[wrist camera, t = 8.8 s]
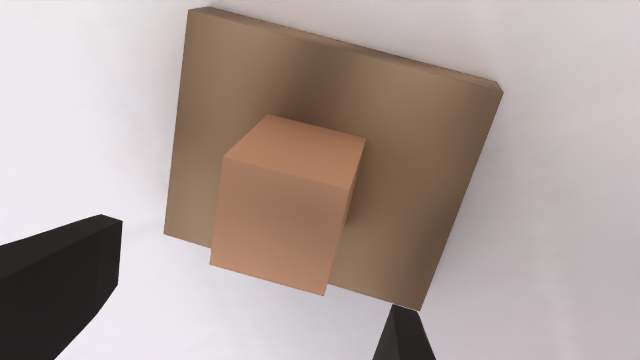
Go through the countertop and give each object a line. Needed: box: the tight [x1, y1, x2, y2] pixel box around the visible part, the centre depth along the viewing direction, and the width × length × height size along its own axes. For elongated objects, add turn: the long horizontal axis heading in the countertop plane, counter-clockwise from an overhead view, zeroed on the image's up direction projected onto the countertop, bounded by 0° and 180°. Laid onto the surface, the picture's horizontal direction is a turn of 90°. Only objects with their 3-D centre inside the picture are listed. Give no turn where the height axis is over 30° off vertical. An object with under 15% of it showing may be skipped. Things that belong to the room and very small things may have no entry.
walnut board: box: [164, 7, 503, 311], centre depth 22 cm, size 12×10×2 cm
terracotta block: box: [210, 114, 366, 296], centre depth 18 cm, size 4×4×5 cm
